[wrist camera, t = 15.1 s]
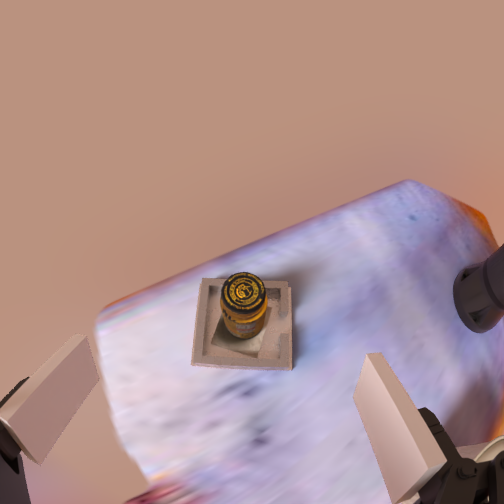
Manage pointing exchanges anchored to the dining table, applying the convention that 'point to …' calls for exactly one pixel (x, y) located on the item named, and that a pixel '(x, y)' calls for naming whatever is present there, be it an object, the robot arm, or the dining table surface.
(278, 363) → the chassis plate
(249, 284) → the condiment
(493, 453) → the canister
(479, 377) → the dining table surface
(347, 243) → the dining table surface
